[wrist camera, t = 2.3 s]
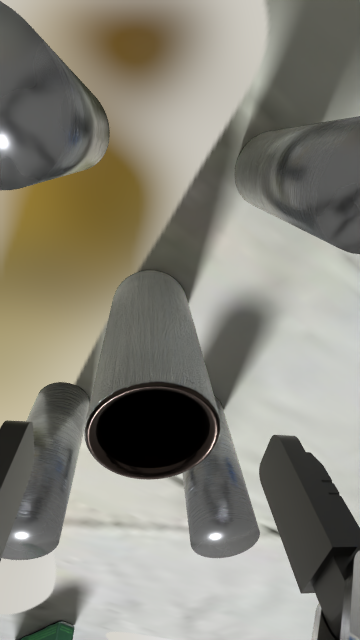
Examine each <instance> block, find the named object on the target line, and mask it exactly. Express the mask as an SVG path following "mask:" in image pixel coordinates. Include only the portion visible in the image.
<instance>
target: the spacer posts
mask: <svg viewBox="0 0 360 640" xmlns="http://www.w3.org/2000/svg"><path fill="white" fill-rule="evenodd" d="M108 143H109V123H108V119H107V116H106V113H105V111H104V109H103V107H102V105H101V104H100V102H99V101H98V99H97V98H96V97H95V96H94V95H93V94H92V93H91V91H90V90H89V89H88V88H87V87H86V86H85V85H84V84H83V83H82V82H81V81H80V79H79V78H78V77H77V76H76V75H75V74H74V73H73V72H72V71H71V70H70V69H69V68H68V66H67V65H66V64H65V63H64V62H63V61H62V60H61V59H60V58H59V57H58V55H57V54H56V53H55V52H54V51H53V50H52V49H51V48H50V47H49V46H48V45H47V43H46V42H45V41H44V40H43V39H42V38H41V37H40V36H39V35H38V34H37V33H36V32H35V31H34V29H32V27H31V26H30V25H29V24H28V23H27V22H26V21H25V20H24V19H23V18H22V17H21V16H20V15H18V14H17V13H16V12H15V11H14V10H13V9H11V8H10V7H8V6H7V5H5V4H4V3H2V2H1V1H0V190H13V189H19V188H23V187H26V186H30V185H33V184H37V183H40V182H44V181H47V180H51V179H54V178H58V177H61V176H64V175H68V174H71V173H75V172H78V171H82V170H85V169H88V168H90V167H92V166H94V165H95V164H97V163H98V162H99V161H100V159H101V158H102V157H103V155H104V154H105V152H106V149H107V147H108ZM235 182H236V186H237V189H238V191H239V193H240V195H241V196H242V197H243V199H244V200H246V201H247V202H248V203H250V204H251V205H253V206H255V207H257V208H259V209H261V210H263V211H265V212H267V213H269V214H272V215H274V216H276V217H278V218H280V219H282V220H284V221H286V222H288V223H290V224H292V225H294V226H296V227H298V228H300V229H302V230H304V231H306V232H308V233H310V234H312V235H314V236H316V237H318V238H320V239H322V240H324V241H326V242H328V243H330V244H332V245H334V246H336V247H338V248H340V249H342V250H344V251H347V252H350V253H355V254H360V116H359V117H353V118H347V119H341V120H335V121H329V122H323V123H317V124H311V125H305V126H299V127H293V128H287V129H281V130H275V131H269V132H264V133H261V134H259V135H257V136H256V137H254V138H253V139H251V140H250V141H249V142H248V143H247V144H246V145H245V147H244V148H243V149H242V151H241V153H240V155H239V157H238V159H237V162H236V167H235ZM214 398H215V397H214ZM215 401H216V405H217V408H218V412H219V416H220V421H221V431H220V436H219V439H218V442H217V444H216V446H215V448H214V449H213V451H212V452H211V453H210V454H209V455H208V457H207V458H206V459H204V460H203V461H202V462H201V463H200V464H198V465H197V466H195V467H193V468H192V469H190V470H188V471H186V472H183V480H184V489H185V498H186V507H187V515H188V524H189V533H190V542H191V547H192V549H193V550H194V551H195V552H196V553H197V554H199V555H201V556H204V557H209V558H224V557H230V556H234V555H237V554H240V553H242V552H244V551H246V550H248V549H249V548H251V547H252V546H253V545H254V544H255V543H256V542H257V540H258V539H259V535H260V532H259V528H258V525H257V521H256V518H255V515H254V511H253V508H252V505H251V501H250V498H249V495H248V491H247V488H246V485H245V481H244V478H243V475H242V471H241V468H240V465H239V461H238V458H237V454H236V451H235V448H234V444H233V441H232V438H231V434H230V431H229V428H228V424H227V421H226V418H225V414H224V411H223V408H222V404H221V403H220V401H219V400H218V399H217V398H215ZM89 404H90V401H89V398H88V396H87V394H86V393H85V392H84V391H83V390H82V389H81V388H79V387H78V386H76V385H73V384H70V383H62V382H59V383H53V384H50V385H47V386H46V387H44V388H43V389H42V390H41V391H40V392H39V394H38V396H37V398H36V401H35V403H34V405H33V408H32V410H31V412H30V414H29V416H28V419H27V421H26V422H32V423H33V436H34V463H33V468H32V473H31V476H30V479H29V482H28V485H27V487H26V490H25V493H24V496H23V499H22V501H21V504H20V507H19V510H18V513H17V516H16V518H15V521H14V524H13V527H12V530H11V532H10V535H9V538H8V541H7V544H6V546H5V549H4V552H3V555H2V558H4V559H11V560H28V559H34V558H38V557H41V556H44V555H46V554H48V553H50V552H52V551H53V550H54V549H55V548H56V547H57V545H58V543H59V539H60V535H61V531H62V526H63V522H64V517H65V513H66V508H67V504H68V499H69V495H70V490H71V486H72V481H73V477H74V472H75V468H76V463H77V459H78V454H79V450H80V446H81V441H82V437H83V432H84V428H85V423H86V418H87V413H88V409H89Z"/></svg>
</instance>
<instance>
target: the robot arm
mask: <svg viewBox="0 0 360 640" xmlns="http://www.w3.org/2000/svg"><path fill="white" fill-rule="evenodd" d="M33 463H34V436H33V423H32V422H25V421H24V422H23V421H5V422H4V423H3V425H2V426H1V428H0V561H1V558H2V555H3V552H4V549H5V546H6V544H7V541H8V538H9V535H10V532H11V530H12V527H13V524H14V521H15V518H16V516H17V513H18V510H19V507H20V504H21V501H22V499H23V496H24V493H25V490H26V487H27V485H28V482H29V479H30V476H31V473H32V468H33ZM259 475H260V481H261V484H262V487H263V490H264V493H265V495H266V498H267V501H268V504H269V506H270V509H271V512H272V515H273V517H274V520H275V523H276V526H277V529H278V531H279V534H280V537H281V540H282V542H283V545H284V548H285V551H286V553H287V556H288V559H289V562H290V564H291V567H292V570H293V573H294V575H295V578H296V581H297V584H298V587H299V589H300V592H301V593H316V596H317V598H318V601H319V604H318V606H317V609H316V614H315V620H314V627H313V633H312V640H360V528H359V526H358V524H357V522H356V521H355V519H354V517H353V516H352V514H351V512H350V510H349V509H348V507H347V505H346V504H345V502H344V500H343V499H342V497H341V496H339V492H338V490H337V488H336V487H335V485H334V483H332V480H331V478H330V476H329V475H328V473H327V471H326V469H325V468H324V466H323V465H322V464H321V463H320V462H319V461H318V460H317V459H316V458H315V457H314V456H313V455H312V454H311V453H309V452H305V450H304V448H303V446H302V445H301V443H300V441H299V439H298V438H297V437H295V436H284V435H273V436H272V437H271V439H270V442H269V444H268V447H267V449H266V451H265V454H264V456H263V458H262V461H261V463H260V468H259Z"/></svg>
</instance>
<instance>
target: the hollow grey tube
mask: <svg viewBox="0 0 360 640" xmlns="http://www.w3.org/2000/svg"><path fill="white" fill-rule="evenodd" d="M220 431H221V421H220V416H219V412H218V408H217V405H216V401H215V398H214V394H213V390H212V387H211V383H210V380H209V376H208V372H207V369H206V365H205V362H204V358H203V355H202V351H201V347H200V344H199V340H198V337H197V333H196V329H195V326H194V322H193V319H192V315H191V312H190V308H189V304H188V301H187V297H186V295H185V292H184V290H183V288H182V287H181V285H180V284H179V283H178V282H177V281H176V280H175V279H174V278H173V277H171V276H170V275H168V274H166V273H163V272H159V271H153V270H147V271H141V272H137V273H135V274H132V275H130V276H129V277H127V278H126V279H125V280H124V281H123V282H122V283H121V284H120V285H119V287H118V289H117V290H116V293H115V295H114V298H113V302H112V306H111V311H110V315H109V320H108V324H107V329H106V333H105V338H104V342H103V346H102V351H101V355H100V360H99V364H98V369H97V373H96V378H95V382H94V387H93V391H92V396H91V400H90V404H89V409H88V413H87V418H86V423H85V430H84V435H85V441H86V445H87V447H88V449H89V451H90V453H91V454H92V456H93V457H94V458H95V459H96V460H97V461H98V462H99V463H100V464H101V465H103V466H104V467H105V468H107V469H109V470H110V471H112V472H115V473H117V474H120V475H122V476H126V477H130V478H136V479H161V478H167V477H171V476H175V475H178V474H181V473H183V472H186V471H188V470H190V469H192V468H193V467H195V466H197V465H198V464H200V463H201V462H202V461H203V460H204V459H206V458H207V457H208V455H209V454H210V453H211V452H212V451H213V449H214V448H215V446H216V444H217V442H218V439H219V436H220Z"/></svg>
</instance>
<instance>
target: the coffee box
mask: <svg viewBox="0 0 360 640" xmlns="http://www.w3.org/2000/svg"><path fill="white" fill-rule="evenodd" d="M73 633H74V626H73V625H71V624H69V623H66V622H63V621H62V622H58V623H56V624H54V625H49V626H47V627H46V628H44V629H43V630H40V631H38V632H36V633H34V634H31V635H29V636H25V637H23V638H22V639H20V640H72V639H73Z"/></svg>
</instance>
